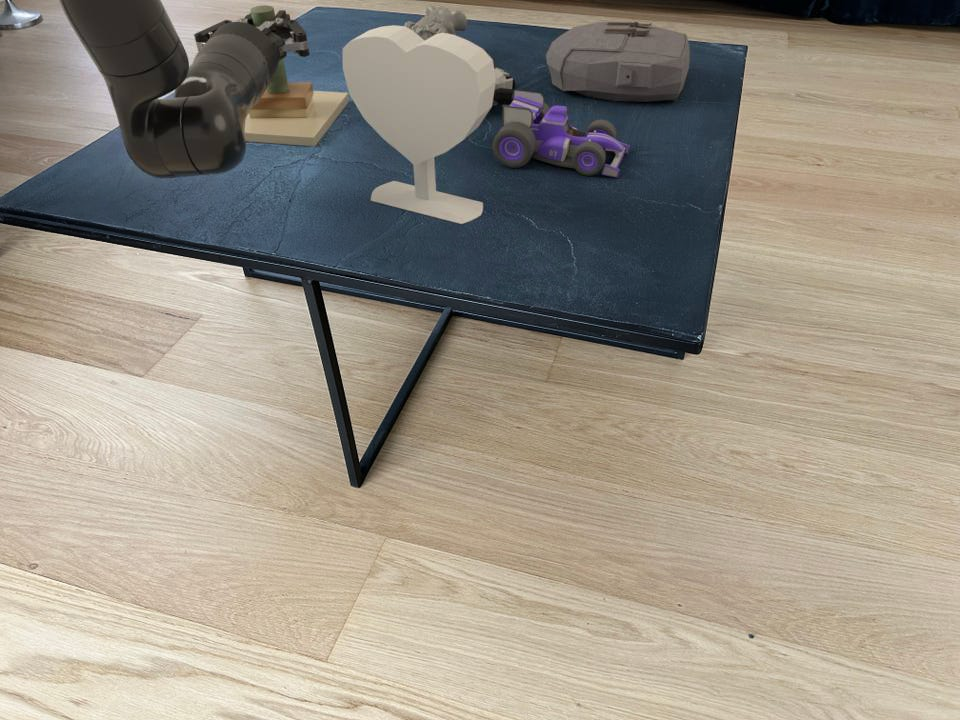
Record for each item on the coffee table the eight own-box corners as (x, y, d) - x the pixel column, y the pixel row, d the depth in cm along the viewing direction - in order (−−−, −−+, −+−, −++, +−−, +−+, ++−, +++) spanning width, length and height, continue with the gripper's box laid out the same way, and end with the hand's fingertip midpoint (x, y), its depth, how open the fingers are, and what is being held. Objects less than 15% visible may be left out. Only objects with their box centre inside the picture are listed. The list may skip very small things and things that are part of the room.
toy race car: (615, 184, 86) (621, 130, 82) (491, 165, 90) (491, 113, 86) (631, 148, 93) (638, 96, 88) (515, 132, 97) (516, 81, 92)
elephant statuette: (395, 73, 112) (390, 19, 107) (422, 46, 120) (419, -6, 115) (454, 80, 110) (452, 25, 104) (477, 51, 118) (477, -1, 113)
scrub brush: (247, 118, 98) (223, 15, 89) (256, 103, 102) (234, 2, 93) (308, 118, 98) (290, 15, 89) (315, 102, 101) (298, 2, 93)
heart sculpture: (498, 206, 83) (499, 38, 71) (478, 228, 80) (475, 56, 68) (379, 177, 88) (361, 16, 76) (355, 196, 85) (332, 32, 73)
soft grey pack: (687, 71, 111) (553, 60, 115) (697, 11, 105) (556, 2, 109) (682, 113, 100) (535, 100, 104) (693, 49, 94) (537, 38, 98)
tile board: (168, 135, 97) (165, 127, 96) (215, 92, 107) (213, 84, 107) (315, 146, 94) (313, 137, 94) (349, 101, 105) (348, 92, 104)
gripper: (291, 34, 79) (321, -15, 92) (160, 35, 79) (208, -14, 92) (303, 103, 84) (330, 48, 97) (180, 103, 84) (223, 49, 97)
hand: (270, 18), depth 95 cm, fingers closed on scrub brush, 3 cm apart
